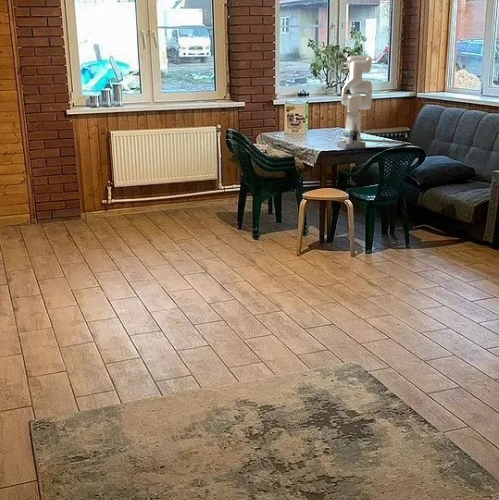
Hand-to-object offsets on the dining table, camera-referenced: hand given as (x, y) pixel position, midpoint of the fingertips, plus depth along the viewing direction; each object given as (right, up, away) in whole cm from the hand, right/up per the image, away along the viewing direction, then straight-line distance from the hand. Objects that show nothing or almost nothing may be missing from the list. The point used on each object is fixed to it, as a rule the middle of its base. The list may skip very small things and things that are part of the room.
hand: (351, 139), depth 493 cm
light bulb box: (0, -4, +1) cm, 4 cm away
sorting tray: (0, -5, +1) cm, 5 cm away
